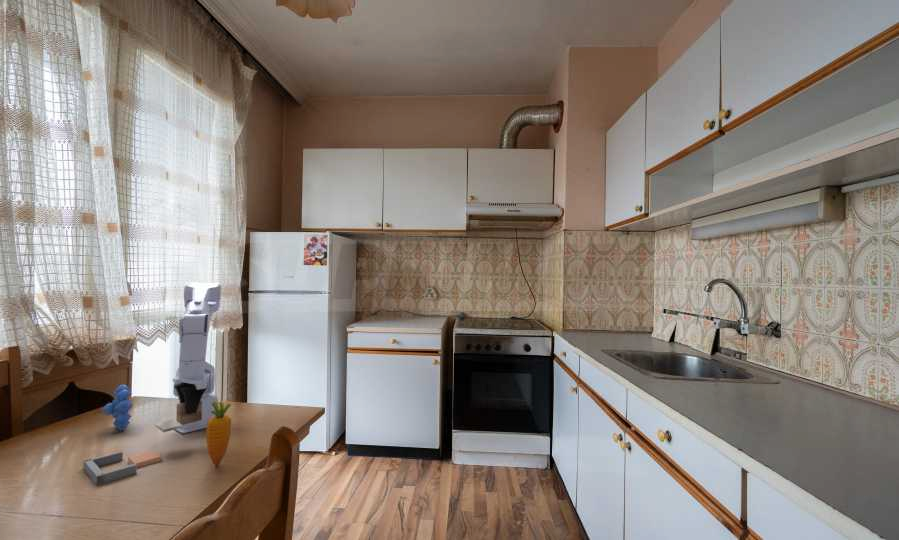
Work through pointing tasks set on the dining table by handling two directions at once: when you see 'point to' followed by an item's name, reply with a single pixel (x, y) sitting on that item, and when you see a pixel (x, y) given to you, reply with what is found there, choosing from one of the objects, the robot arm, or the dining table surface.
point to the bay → (101, 477)
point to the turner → (181, 418)
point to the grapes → (120, 407)
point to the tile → (144, 458)
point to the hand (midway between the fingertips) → (189, 411)
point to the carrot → (218, 433)
